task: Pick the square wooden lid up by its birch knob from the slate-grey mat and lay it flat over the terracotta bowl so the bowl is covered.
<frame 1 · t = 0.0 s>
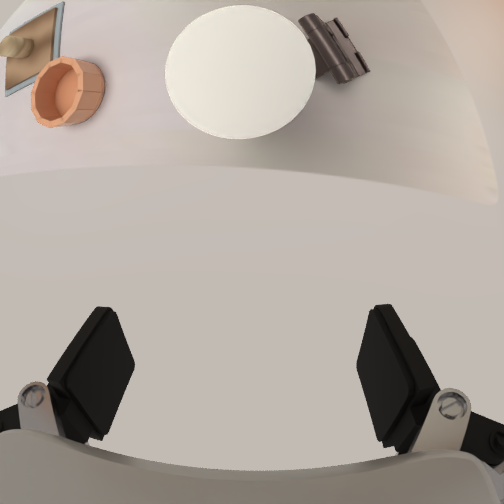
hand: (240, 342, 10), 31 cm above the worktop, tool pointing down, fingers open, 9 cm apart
portable electronic device stand: (326, 57, 31), on the worktop
slate mat: (31, 49, 28), on the worktop
cylindrical container: (252, 104, 34), on the worktop
square wooden lid: (30, 49, 28), resting on slate mat
terracotta bowl: (78, 92, 33), on the worktop
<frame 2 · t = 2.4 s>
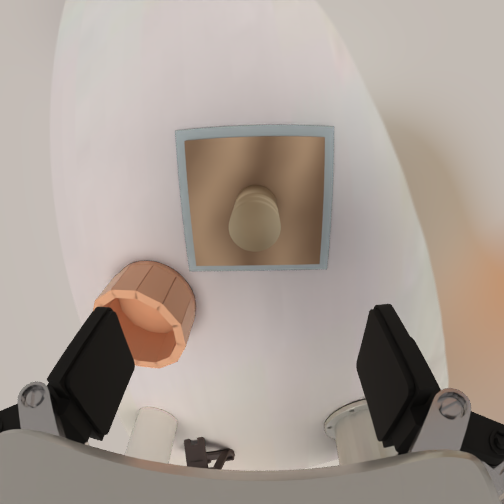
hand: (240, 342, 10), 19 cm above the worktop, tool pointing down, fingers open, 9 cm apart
portable electronic device stand: (205, 445, 47), on the worktop
slate mat: (256, 200, 27), on the worktop
cylindrical container: (158, 417, 43), on the worktop
square wooden lid: (256, 202, 26), resting on slate mat
terracotta bowl: (153, 299, 32), on the worktop
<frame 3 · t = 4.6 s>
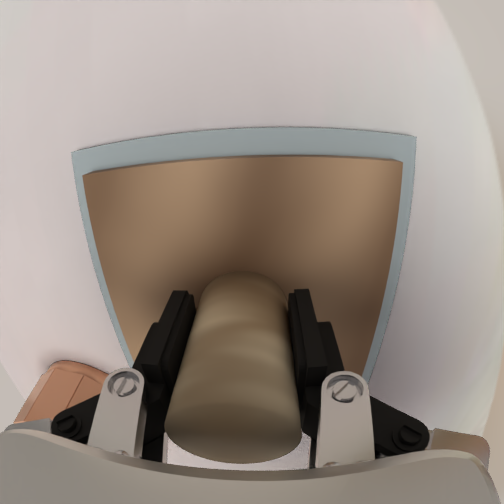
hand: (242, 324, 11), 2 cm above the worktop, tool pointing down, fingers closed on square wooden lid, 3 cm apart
slate mat: (244, 292, 13), on the worktop
square wooden lid: (244, 298, 13), resting on slate mat, touching gripper
terracotta bowl: (100, 405, 18), on the worktop
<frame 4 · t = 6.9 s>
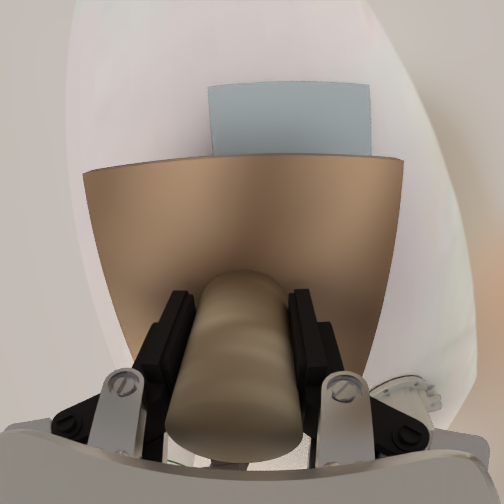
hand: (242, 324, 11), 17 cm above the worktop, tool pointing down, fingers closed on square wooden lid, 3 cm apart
portable electronic device stand: (229, 440, 45), on the worktop
slate mat: (294, 159, 25), on the worktop
cylindrical container: (179, 411, 41), on the worktop
square wooden lid: (245, 297, 13), point 15 cm above the worktop, touching gripper
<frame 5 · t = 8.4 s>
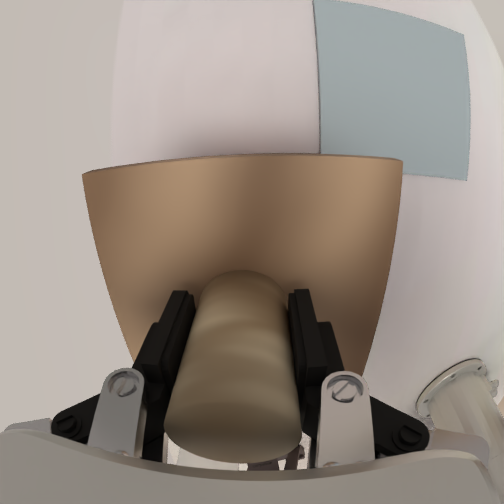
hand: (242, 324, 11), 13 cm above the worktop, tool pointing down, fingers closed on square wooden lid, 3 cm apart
portable electronic device stand: (268, 444, 38), on the worktop
slate mat: (403, 88, 18), on the worktop
cylindrical container: (215, 411, 34), on the worktop
square wooden lid: (244, 297, 13), point 11 cm above the worktop, touching gripper
when the fingers open (9 cm above the worktop, at t = 9.3 s): square wooden lid drops 1 cm, resting on terracotta bowl.
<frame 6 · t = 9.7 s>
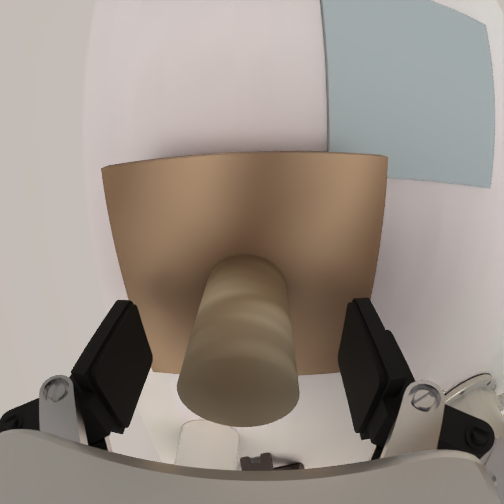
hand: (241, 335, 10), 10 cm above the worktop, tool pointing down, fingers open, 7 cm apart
portable electronic device stand: (266, 462, 35), on the worktop
slate mat: (423, 81, 14), on the worktop
cylindrical container: (210, 432, 31), on the worktop
square wooden lid: (247, 281, 14), point 6 cm above the worktop, touching terracotta bowl
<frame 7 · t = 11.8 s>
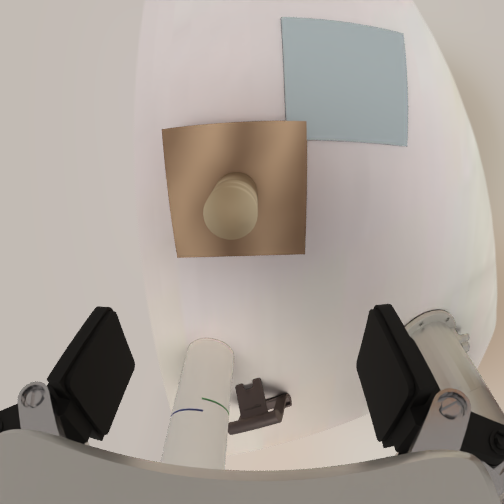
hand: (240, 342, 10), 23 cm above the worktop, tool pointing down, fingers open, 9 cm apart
portable electronic device stand: (258, 392, 46), on the worktop
slate mat: (349, 79, 26), on the worktop
cylindrical container: (210, 354, 42), on the worktop
square wooden lid: (236, 190, 25), point 6 cm above the worktop, touching terracotta bowl
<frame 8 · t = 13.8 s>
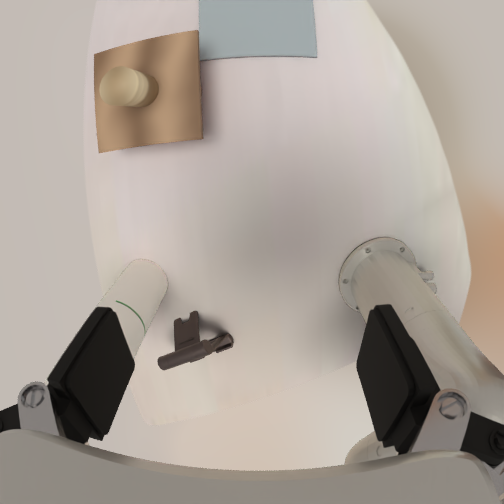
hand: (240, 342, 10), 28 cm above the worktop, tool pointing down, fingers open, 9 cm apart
portable electronic device stand: (199, 331, 46), on the worktop
slate mat: (256, 9, 26), on the worktop
cylindrical container: (146, 279, 42), on the worktop
square wooden lid: (145, 91, 26), point 6 cm above the worktop, touching terracotta bowl
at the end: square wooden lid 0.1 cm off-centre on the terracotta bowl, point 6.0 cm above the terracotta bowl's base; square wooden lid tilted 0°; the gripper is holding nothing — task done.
